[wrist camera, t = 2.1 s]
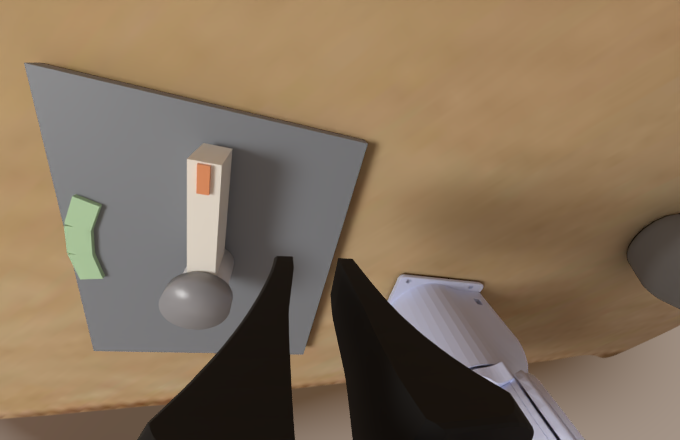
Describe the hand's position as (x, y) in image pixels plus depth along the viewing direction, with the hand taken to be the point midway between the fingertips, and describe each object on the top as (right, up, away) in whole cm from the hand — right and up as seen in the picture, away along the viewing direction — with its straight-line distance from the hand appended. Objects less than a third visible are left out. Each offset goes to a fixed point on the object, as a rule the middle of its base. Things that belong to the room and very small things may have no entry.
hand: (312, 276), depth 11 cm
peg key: (-8, +2, +8) cm, 11 cm away
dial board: (-9, 0, +10) cm, 13 cm away
